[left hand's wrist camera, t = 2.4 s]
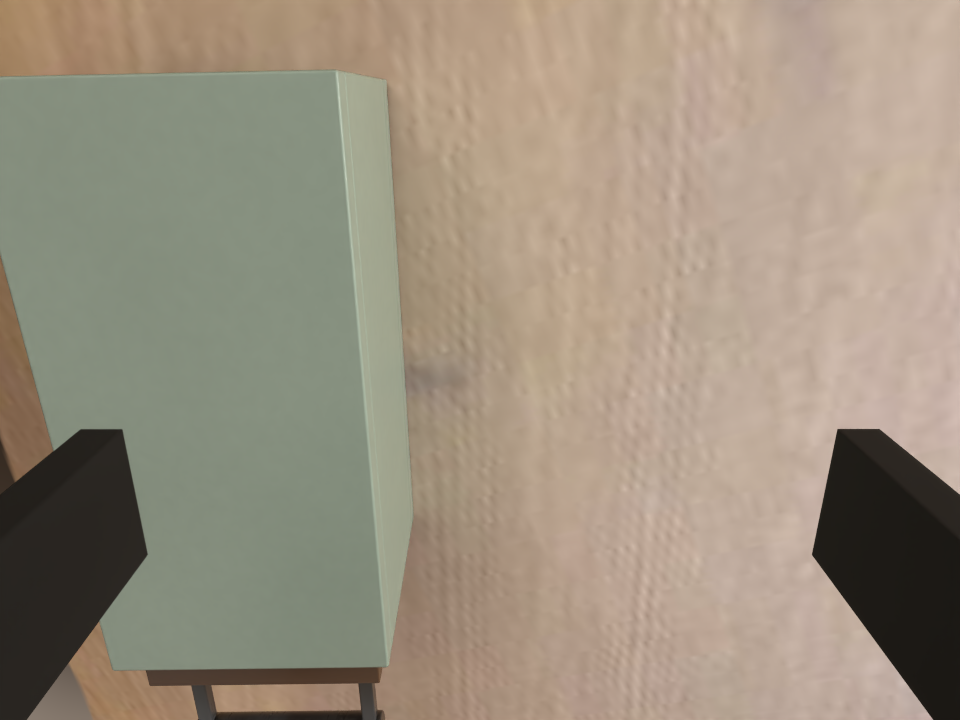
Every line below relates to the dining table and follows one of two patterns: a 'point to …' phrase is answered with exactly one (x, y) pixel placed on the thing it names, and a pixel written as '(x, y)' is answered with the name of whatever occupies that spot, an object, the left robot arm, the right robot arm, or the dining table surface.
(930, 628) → the left robot arm
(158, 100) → the cabinet
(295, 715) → the drawer
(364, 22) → the dining table surface
